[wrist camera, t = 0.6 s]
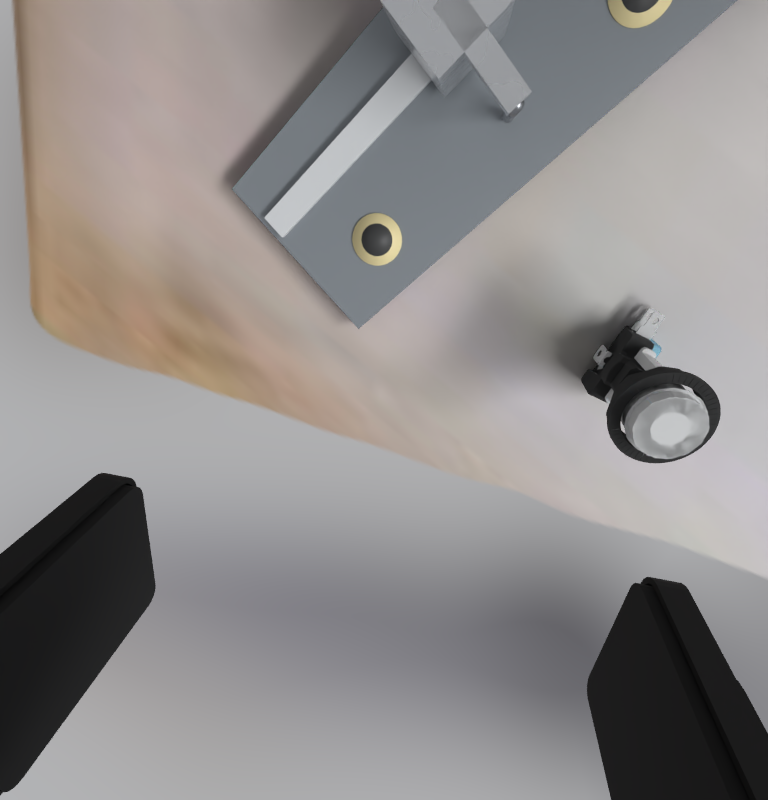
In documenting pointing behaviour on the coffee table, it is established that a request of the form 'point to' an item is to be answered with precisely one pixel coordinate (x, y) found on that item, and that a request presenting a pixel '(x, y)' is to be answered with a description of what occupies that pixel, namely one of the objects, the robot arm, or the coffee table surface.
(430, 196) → the plate
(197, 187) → the coffee table surface
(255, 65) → the coffee table surface
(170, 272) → the coffee table surface
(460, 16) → the sliding block
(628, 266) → the coffee table surface
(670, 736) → the robot arm
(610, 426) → the push button
